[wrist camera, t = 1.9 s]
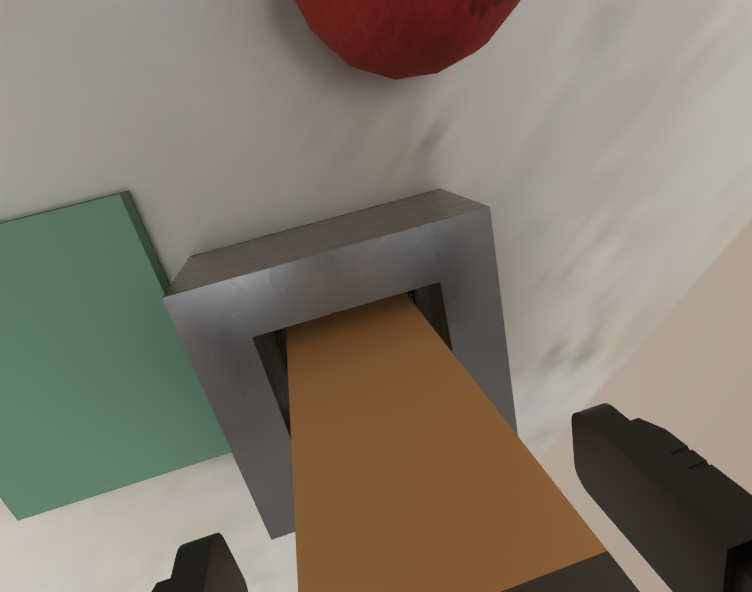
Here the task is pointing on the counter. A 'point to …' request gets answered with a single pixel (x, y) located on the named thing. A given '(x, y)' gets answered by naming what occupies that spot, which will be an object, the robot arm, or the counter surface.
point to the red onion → (405, 31)
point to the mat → (91, 361)
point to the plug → (419, 471)
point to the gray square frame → (327, 296)
